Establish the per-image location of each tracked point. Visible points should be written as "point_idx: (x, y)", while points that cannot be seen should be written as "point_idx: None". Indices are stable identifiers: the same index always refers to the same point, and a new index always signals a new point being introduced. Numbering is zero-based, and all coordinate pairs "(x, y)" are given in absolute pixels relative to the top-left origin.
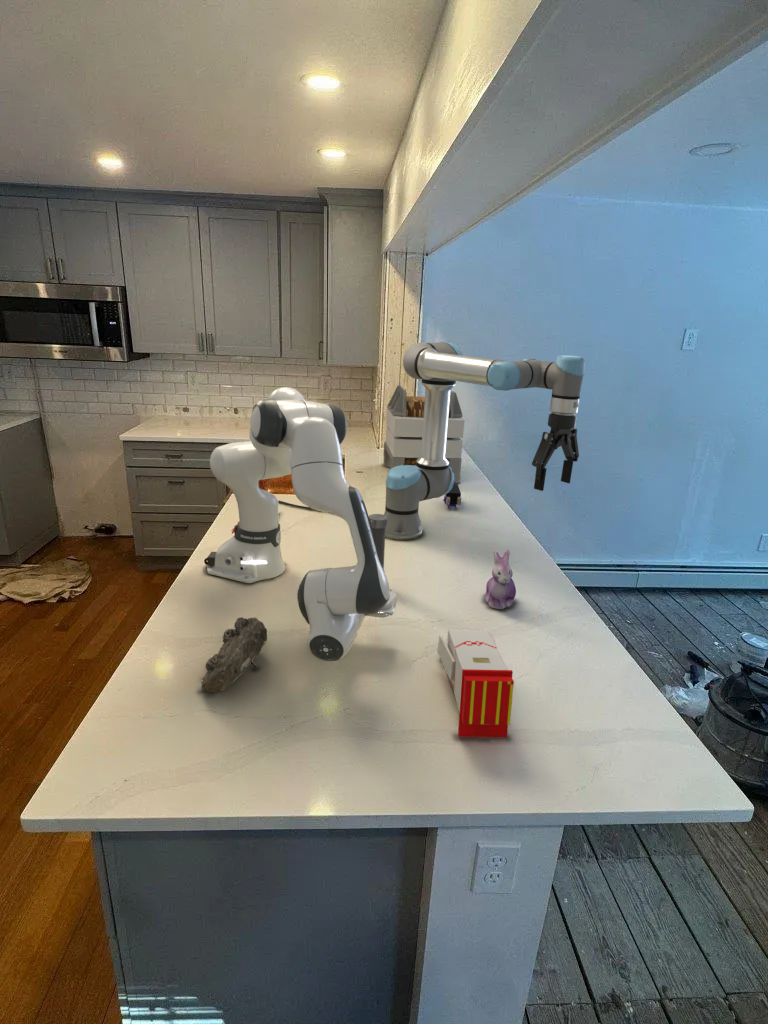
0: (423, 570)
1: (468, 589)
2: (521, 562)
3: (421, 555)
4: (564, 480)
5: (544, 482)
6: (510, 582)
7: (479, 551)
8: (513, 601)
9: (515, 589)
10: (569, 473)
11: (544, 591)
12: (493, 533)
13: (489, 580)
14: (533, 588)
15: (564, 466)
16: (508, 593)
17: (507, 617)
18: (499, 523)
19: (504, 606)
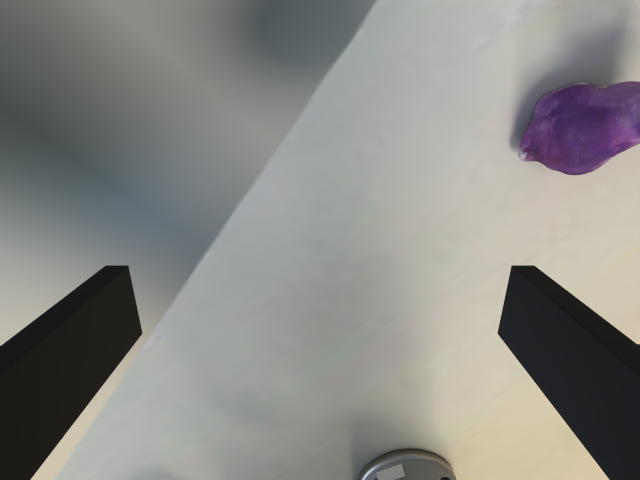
0: None
1: (555, 215)
2: (306, 234)
3: (473, 389)
4: (129, 311)
5: (557, 302)
6: (613, 97)
7: (342, 334)
8: (551, 91)
9: (573, 90)
10: (72, 321)
11: (415, 80)
12: (217, 382)
13: (602, 164)
14: (422, 113)
15: (47, 433)
16: (623, 82)
17: (632, 49)
18: (150, 411)
19: (601, 86)
